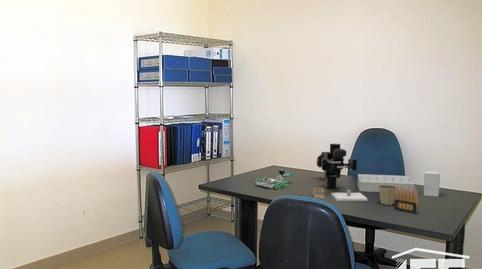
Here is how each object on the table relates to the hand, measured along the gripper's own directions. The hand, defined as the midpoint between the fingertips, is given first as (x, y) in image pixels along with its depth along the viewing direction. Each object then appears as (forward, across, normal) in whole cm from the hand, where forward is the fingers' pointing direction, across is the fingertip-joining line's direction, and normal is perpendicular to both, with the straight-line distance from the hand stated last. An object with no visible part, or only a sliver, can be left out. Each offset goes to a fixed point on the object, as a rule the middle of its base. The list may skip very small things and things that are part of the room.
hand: (342, 167), depth 220 cm
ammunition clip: (+25, +24, +17) cm, 38 cm away
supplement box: (-7, +51, +17) cm, 54 cm away
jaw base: (-2, +4, +17) cm, 17 cm away
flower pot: (+11, +20, +17) cm, 28 cm away
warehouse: (-20, +30, +17) cm, 40 cm away
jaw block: (-3, -12, +17) cm, 21 cm away
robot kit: (-32, -32, +17) cm, 49 cm away
